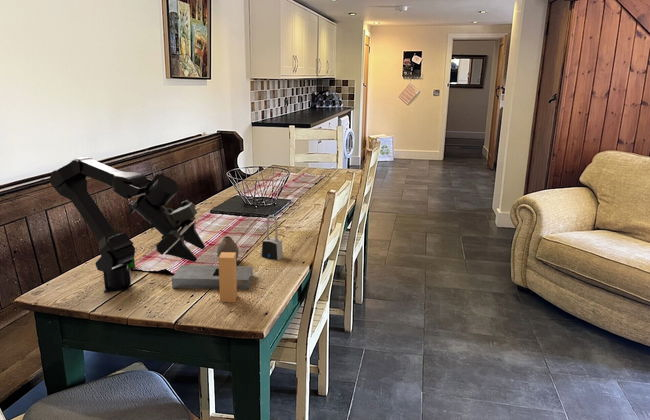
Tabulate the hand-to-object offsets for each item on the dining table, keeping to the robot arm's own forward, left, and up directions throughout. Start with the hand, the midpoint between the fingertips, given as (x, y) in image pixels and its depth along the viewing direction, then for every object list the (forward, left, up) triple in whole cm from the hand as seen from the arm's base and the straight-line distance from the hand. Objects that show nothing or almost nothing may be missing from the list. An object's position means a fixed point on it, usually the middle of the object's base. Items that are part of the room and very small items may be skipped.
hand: (200, 254), depth 130 cm
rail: (+4, +10, -13) cm, 17 cm away
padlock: (+25, +25, -13) cm, 38 cm away
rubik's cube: (-23, +28, -13) cm, 39 cm away
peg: (+7, -2, -13) cm, 15 cm away
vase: (+10, +24, -13) cm, 29 cm away
